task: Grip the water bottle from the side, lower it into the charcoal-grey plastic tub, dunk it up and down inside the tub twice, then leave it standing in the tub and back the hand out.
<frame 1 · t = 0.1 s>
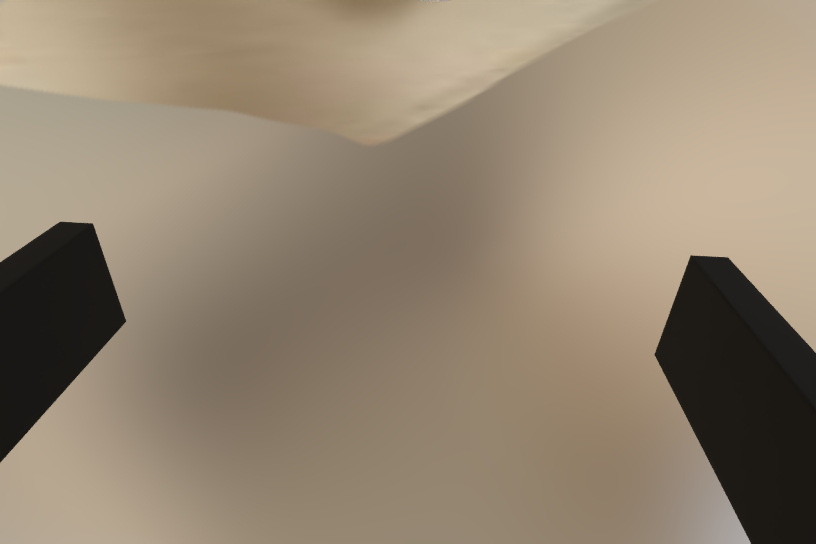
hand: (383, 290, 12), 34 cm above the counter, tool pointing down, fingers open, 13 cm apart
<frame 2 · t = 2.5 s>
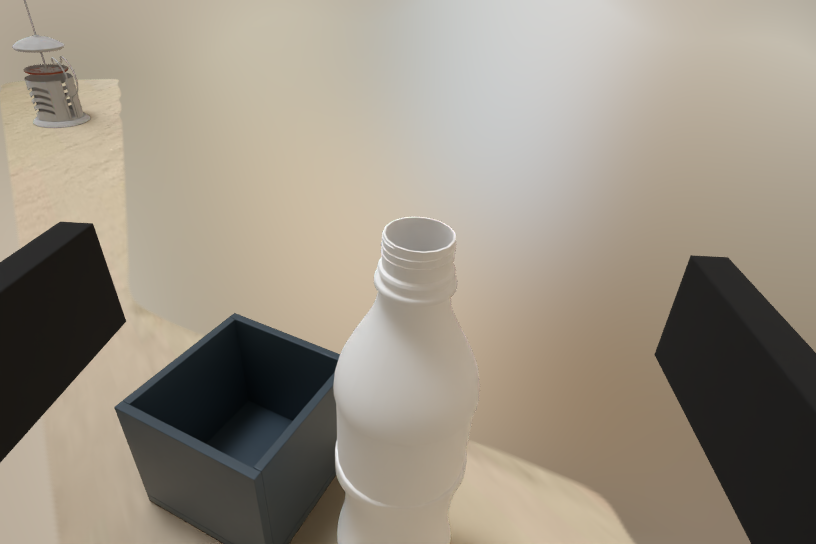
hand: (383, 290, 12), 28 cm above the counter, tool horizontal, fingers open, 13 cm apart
tub: (257, 472, 39), on the counter
french press: (65, 121, 101), on the counter
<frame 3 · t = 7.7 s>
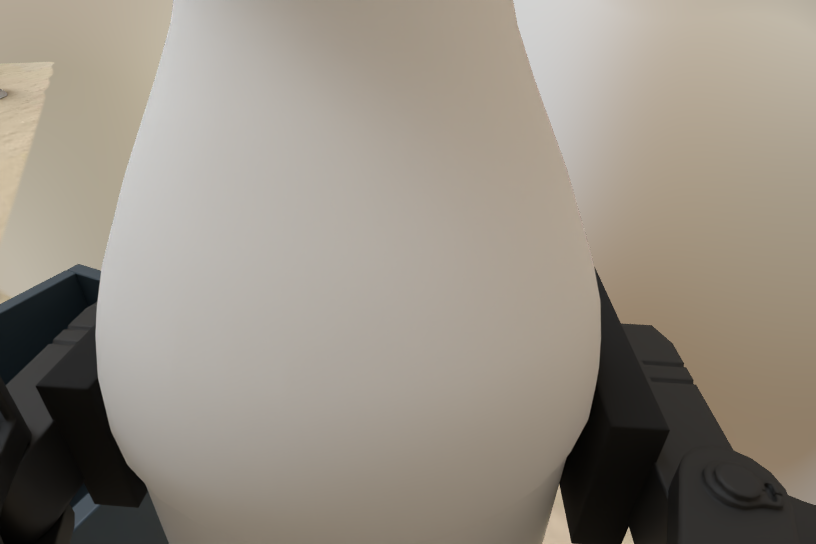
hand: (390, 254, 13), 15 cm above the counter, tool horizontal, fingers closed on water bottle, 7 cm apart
when the fingers open (16 cm above the counter, at t = 18.6 s): water bottle stays where it is, resting on tub.
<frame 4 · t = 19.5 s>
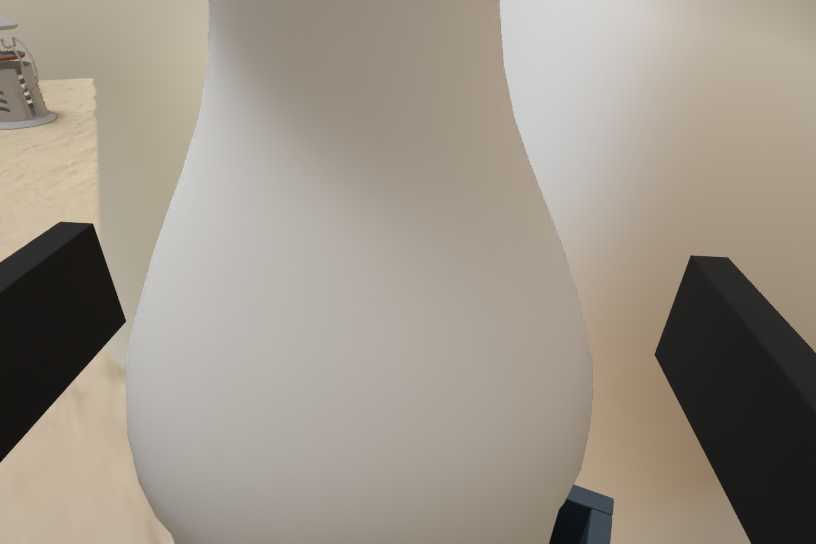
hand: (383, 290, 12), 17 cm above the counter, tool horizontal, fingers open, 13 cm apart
french press: (25, 122, 80), on the counter
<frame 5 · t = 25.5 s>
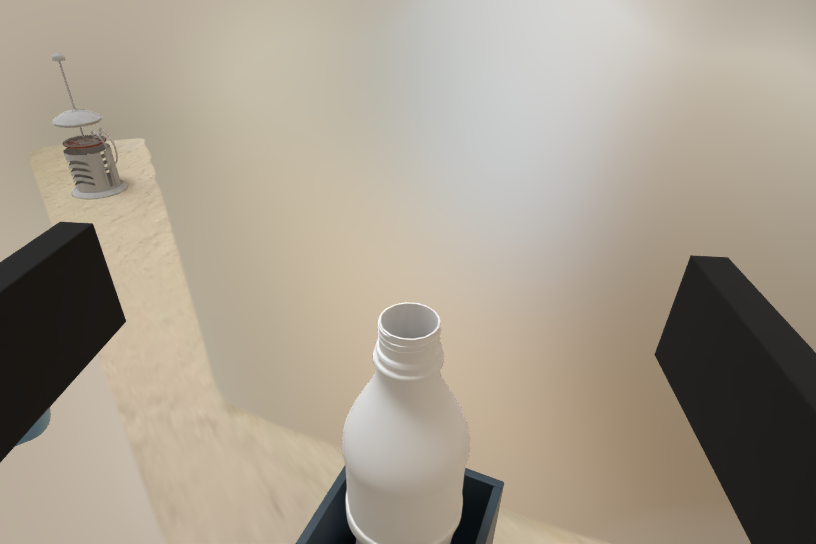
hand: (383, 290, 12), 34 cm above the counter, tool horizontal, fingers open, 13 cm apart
french press: (103, 190, 100), on the counter
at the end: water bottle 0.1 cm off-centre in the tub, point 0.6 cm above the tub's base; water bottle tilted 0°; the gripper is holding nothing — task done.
